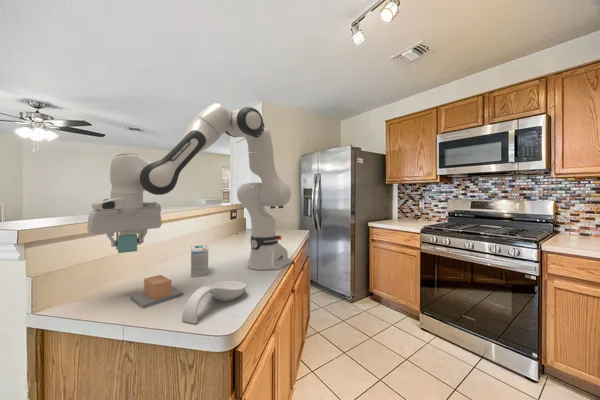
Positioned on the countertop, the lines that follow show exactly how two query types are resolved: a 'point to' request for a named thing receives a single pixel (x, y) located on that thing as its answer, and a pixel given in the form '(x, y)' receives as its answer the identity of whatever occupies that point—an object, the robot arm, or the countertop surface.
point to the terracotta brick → (157, 287)
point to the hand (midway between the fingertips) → (128, 244)
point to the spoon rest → (218, 290)
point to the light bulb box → (199, 260)
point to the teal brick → (127, 242)
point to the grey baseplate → (147, 301)
